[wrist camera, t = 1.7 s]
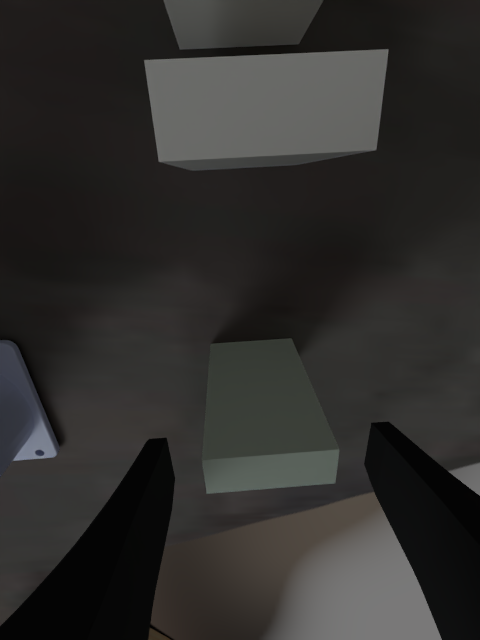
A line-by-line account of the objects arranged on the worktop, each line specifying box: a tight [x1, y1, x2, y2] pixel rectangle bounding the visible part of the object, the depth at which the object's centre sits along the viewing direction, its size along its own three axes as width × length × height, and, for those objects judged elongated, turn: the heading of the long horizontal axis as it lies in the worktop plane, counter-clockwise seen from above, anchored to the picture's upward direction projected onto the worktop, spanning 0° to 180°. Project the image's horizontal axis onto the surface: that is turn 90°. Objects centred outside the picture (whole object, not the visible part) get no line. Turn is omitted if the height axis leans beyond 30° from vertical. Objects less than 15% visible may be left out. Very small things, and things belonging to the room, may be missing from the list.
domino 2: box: [144, 49, 389, 171], centre depth 9 cm, size 4×2×8 cm, turn 93°
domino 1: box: [202, 338, 339, 494], centre depth 13 cm, size 4×2×8 cm, turn 93°
